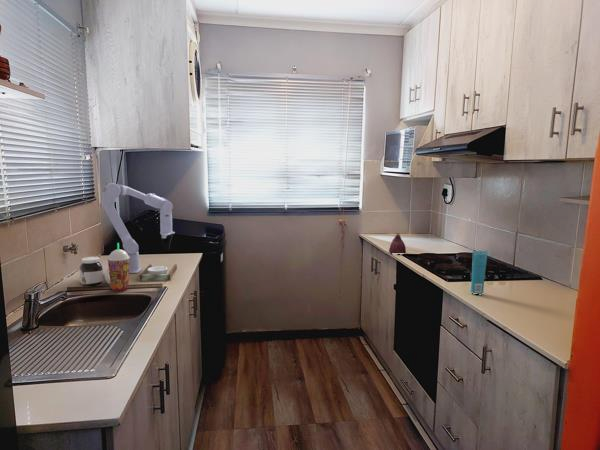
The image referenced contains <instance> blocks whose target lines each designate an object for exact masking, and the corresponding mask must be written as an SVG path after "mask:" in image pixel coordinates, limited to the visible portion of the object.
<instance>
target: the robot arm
mask: <svg viewBox="0 0 600 450" xmlns="http://www.w3.org/2000/svg"><path fill="white" fill-rule="evenodd" d="M120 195H121V196H127V195H128V196H131V197H134V198H136V199H140V200H142V201H143V202H144V204H145V205H148V206H151V207H153V208H156V209H159V212H160V213H159V217H160V218H159V220H160V221H159V222H160V232H159V234H160V236H159V237H160V240H161V242H162V245H163V250H164V251H169V250H170V247H171V242H172V239H173V235H174V234H175V233H176V232H175V231H173V213H172V211H173V209H174V205H173V203H172V202H171V201H170V200H168V199H166V198H165V197H160V196H158V195H156V193H154V192H152V193H151V192H149V193H147V194H145V193H144V192H141V191H138V189H137V190H136V189H134V188H132V187H130V186H127V185H123V184H119V183H118V184H117V183H115V182H109V183H107V184H106V185H105V186H104V189H103V191H102V199H101V206H102V208H103V210H104V212H105V213H106V215H107V216H108V219H109V221H110V222H111V224H112V226H113V228H114V229H115V231H116V233H117V235H118V236H119V238H120V239H121V243H122V248H123V250H124V251H125V252H126V253H127V254H128V256H129V257H130V258H129V259H130V261H129V274H138V273H139V272H140V271H141V270H142V267H140V254H139V253H140V252H139V244H138V243H137V242H136V240H135V239H133V237H132V236H131V234H130V233H129V231H128V229H127V227H126V226H125V223H124V222H123V219H122V218H121V217H120V216H121V215H119V213H118V211H117V209H116V207H115V205H114V204H115V202H116V199H117V198H118V197H120Z"/></svg>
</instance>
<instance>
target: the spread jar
mask: <svg viewBox="0 0 600 450" xmlns="http://www.w3.org/2000/svg"><path fill="white" fill-rule="evenodd" d="M79 279H80V283H81V285H82V286H83V287H85V286H93V287H98V286H100V285H101V284H103V282H104V279H105V281H106V283H107V284H108V285H109V284H110V285H111V283H110V274H109V270H107V268H103V265H102V263H101V262H100V257H99V256H88V257H83V258H81V264H80V265H79ZM97 285H98V286H97Z"/></svg>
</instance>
